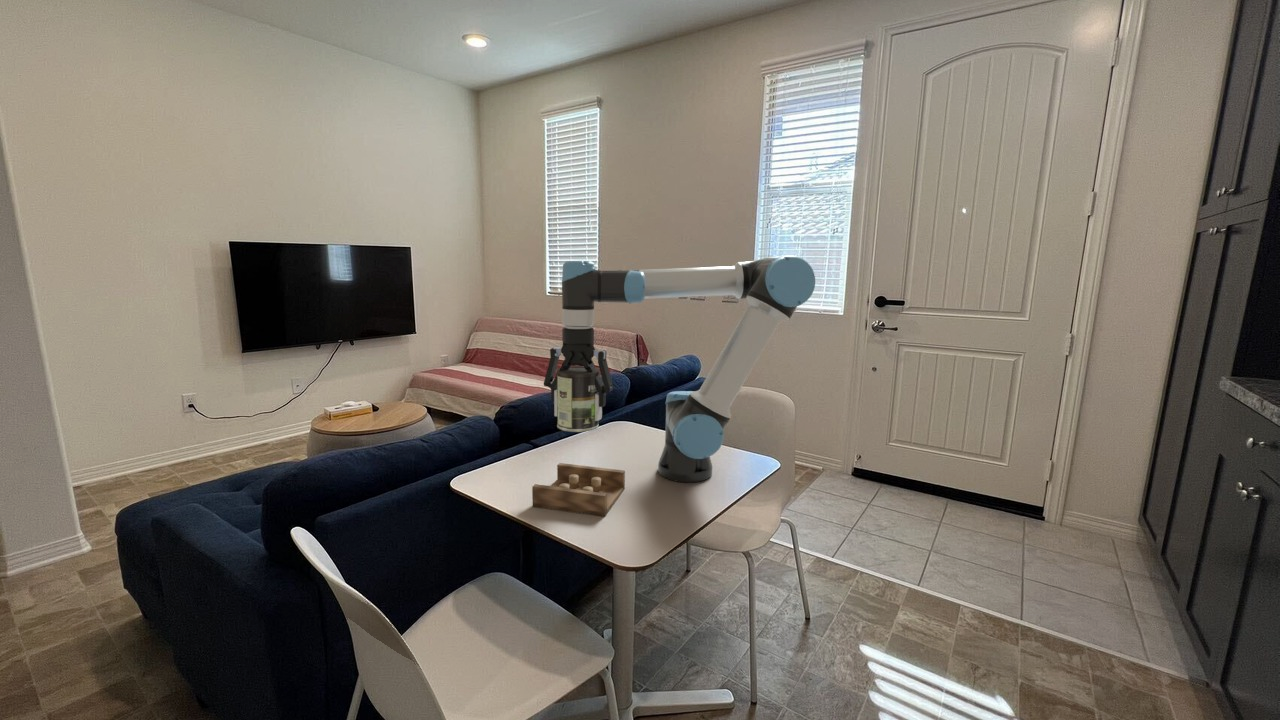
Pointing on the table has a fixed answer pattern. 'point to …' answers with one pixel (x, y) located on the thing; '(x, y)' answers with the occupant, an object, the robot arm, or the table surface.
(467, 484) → the table surface
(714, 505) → the table surface
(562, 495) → the wooden tray
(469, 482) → the table surface
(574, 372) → the coffee can
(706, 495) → the table surface
